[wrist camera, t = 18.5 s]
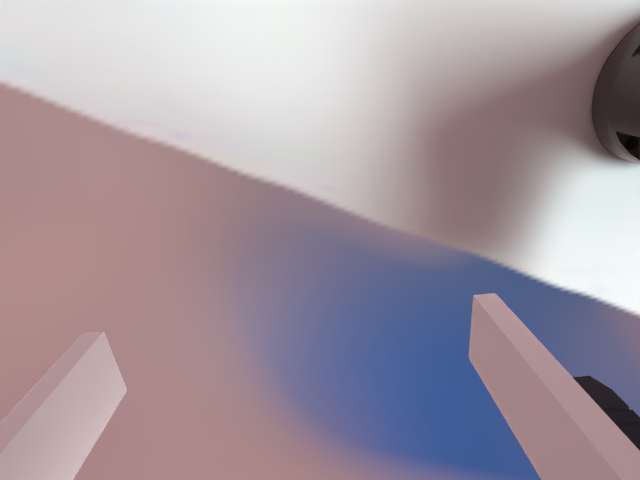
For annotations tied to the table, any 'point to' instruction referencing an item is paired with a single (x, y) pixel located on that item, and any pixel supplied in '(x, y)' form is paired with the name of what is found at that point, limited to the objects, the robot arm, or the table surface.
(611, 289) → the table surface
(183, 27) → the table surface
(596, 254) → the table surface
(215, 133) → the table surface
